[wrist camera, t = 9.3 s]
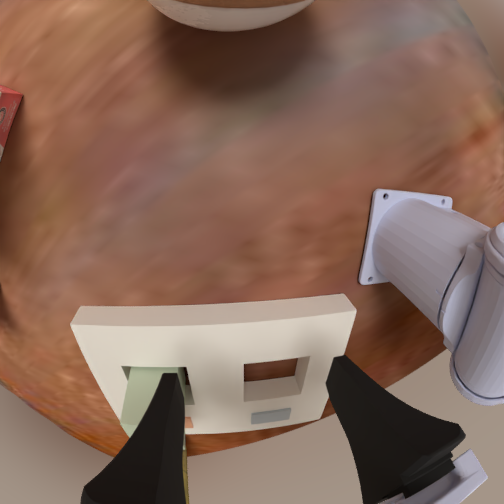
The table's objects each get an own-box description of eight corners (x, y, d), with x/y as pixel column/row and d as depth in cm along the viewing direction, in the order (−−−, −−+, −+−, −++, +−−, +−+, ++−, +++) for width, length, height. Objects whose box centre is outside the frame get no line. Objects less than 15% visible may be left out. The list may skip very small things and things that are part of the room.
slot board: (343, 293, 22) (358, 312, 19) (313, 403, 28) (320, 420, 26) (80, 305, 19) (68, 326, 16) (129, 414, 25) (126, 433, 23)
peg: (179, 348, 22) (175, 427, 15) (185, 377, 23) (185, 449, 16) (135, 348, 21) (119, 423, 14) (145, 377, 23) (136, 447, 16)
